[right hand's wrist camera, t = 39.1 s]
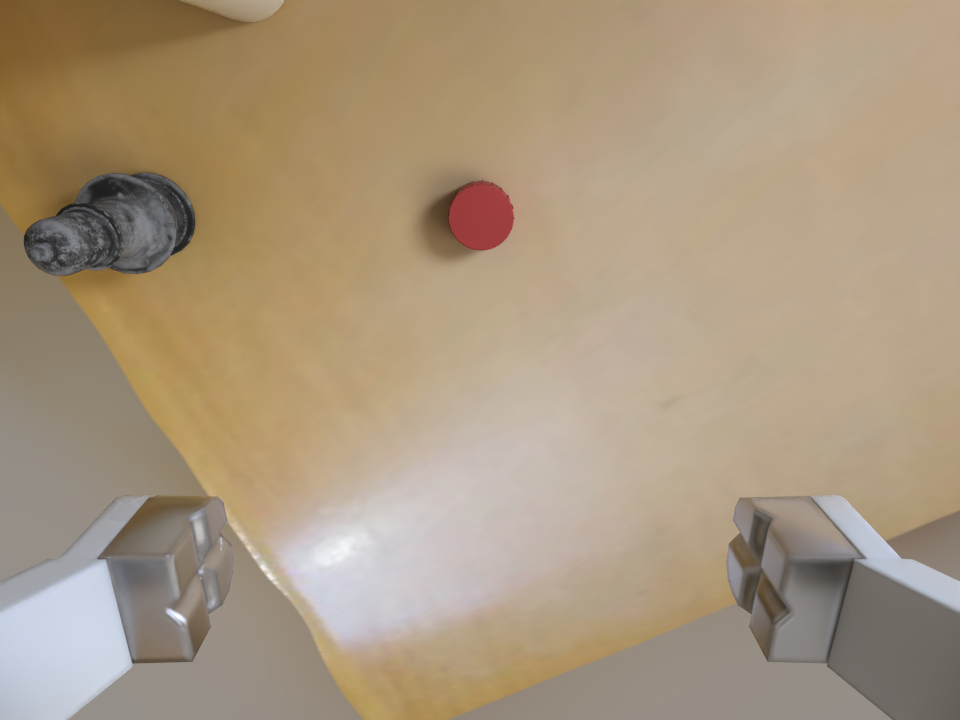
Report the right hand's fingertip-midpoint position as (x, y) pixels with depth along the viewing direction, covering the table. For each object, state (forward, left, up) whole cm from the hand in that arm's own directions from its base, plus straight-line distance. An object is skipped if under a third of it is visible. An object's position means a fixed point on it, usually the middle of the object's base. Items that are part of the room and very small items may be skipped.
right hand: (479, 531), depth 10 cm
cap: (0, 0, -32) cm, 32 cm away
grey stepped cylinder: (+21, +2, -33) cm, 39 cm away
